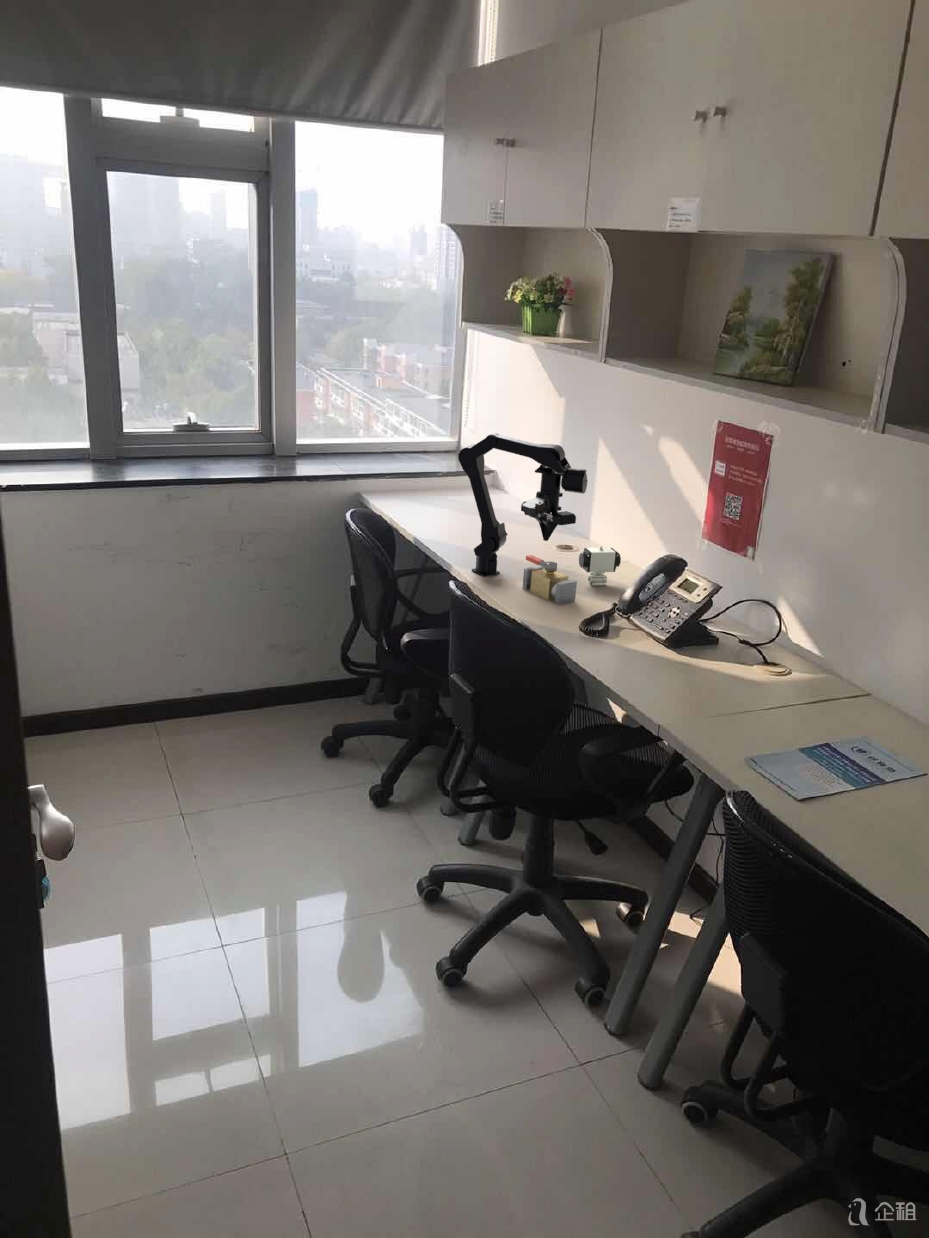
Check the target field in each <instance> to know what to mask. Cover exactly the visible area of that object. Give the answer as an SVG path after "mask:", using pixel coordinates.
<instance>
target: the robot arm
mask: <svg viewBox="0 0 929 1238" xmlns="http://www.w3.org/2000/svg"><path fill="white" fill-rule="evenodd" d="M493 449H495V450H499V451H503V452H507V453H510V454H514V455H519V456H521V457H526V458H529V459H531V460H533V461H535V462H536V463H538V464H540V465H539V467H537V468H536V469H535V470H534V473H537V474H541V478H540V489H539V490H537V491H536V494H535V498H531V499H530V500H529V499H528V500H525V501H523V502H522V503H521V505H520V511H521V512H523V513H524V515H525V516H528V517H530V518H533V519H535V520H536V521H537V522H538V524H539V528H540V530H541V531H540V532H541V536H542V540H543V541H544V542H547V541H549V539H550V538H551V536H552V534H553V533H554V531H555V530H556V528H557V527H558V526H567V525H574V524H576V523H577V522H576V521H577V515H576V514H575V513H573V512H570V511H567V510H565V511H562V506H559V505H560V498H562V497H563V494H564V493H563V492H561V490H564V492H569V493H577V494H585V493H586V491H587V486H588V476H587V475H588V474H587V469H585V468H584V469H580V468H579V469H578V468H572V466H571V464H570V463H569V460H568V459H567V458H566V453H565V450H564V447H562V446H561V445H559V444H553V443H533V442H529V441H525V440H521V439H517V438H514V437H510V436H505V435H502V434H499V433H497V432H493V433H491V434H488V435H486V437H485V438H483V439H482V440H480V441H479V442H477V443H476V444H470V445H468V446H466V447H463V448H462V449H461V450H460V451H459V453H458V454H457V459H458V462H459V464H460V466H461V469H462V471H463V472H464V473H465V474H466V476H467V477H468V479H469V482H470V486H471V490H472V492H473V497H474V501H475V504H476V508H477V511H478V515H479V518H480V523H481V526H480V527H481V528H480V539H481V540H480V541H481V543H480V544H478V545H477V546H475V547H474V548H473V552H474V555H475V556H476V557H475V558H476V560H475V568H471V571H472V572H474V574H475V573H476V574H477V575H479V576H482V577H488V576H494V575H500V574H501V572H500V571H499V570H498V569H497V568H498V555H497V552H499V550H500V549H501V548H502V547H503V546H504V545H505V544H506V542H507V536H508V535H509V534H508V533H507V531H506V524H505V522H502V523H500V522H499V521H498V520H497V518H496V514H495V510H494V507H493V506H494V505H493V504H492V499H491V496H490V493H489V492H490V491H489V487H488V485H487V481H486V477H485V455H486V454H487V453H489V452H491V451H493ZM561 488H562V489H561Z"/></svg>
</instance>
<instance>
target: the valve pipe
mask: <svg viewBox="0 0 929 1238" xmlns="http://www.w3.org/2000/svg"><path fill="white" fill-rule="evenodd" d="M522 577H523V579H522V589H523V590H524V591H528V590H530V594H532V595H534V596H537V597H539V598H540V599H543V600H545V601H547V602H549V601H554V604H555V605H557V606H562V605H566V604H571V603H576V595H577V584H578V581H577V580H575V579H570V580H569V575H567V574H565V573H563V572H561V571H558V570H557V571H556V572H548V571H545V570H544V567H542V566H540V565H536V566H530V567H524V568H523V576H522Z"/></svg>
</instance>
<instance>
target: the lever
mask: <svg viewBox="0 0 929 1238" xmlns="http://www.w3.org/2000/svg"><path fill="white" fill-rule="evenodd" d="M525 561H527V562H530V563H532V564H535V565H536V566H542V567H544V570H545V571H548V572H556V571H558V563H557V562H555V561H545V560H544V559H542V558H540V557H536V556H534V555H532V554H530V555H525Z"/></svg>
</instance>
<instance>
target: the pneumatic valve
mask: <svg viewBox="0 0 929 1238" xmlns="http://www.w3.org/2000/svg"><path fill="white" fill-rule="evenodd" d="M621 559H622V558H621V554H620V553H619V552H618V551H617V550H615V549H614V548H613V547H603V546H601V545H599V547H584V548H583V551H582V552H580V554H579V555H578V564H579V567H580V568H581V569H583V570H584V571H585V572H586V573H589V575H588V578H587V581H588V583H589V584H591V585H592V586H593V587H604V586H605V585H606V583H608V582H607V581H608V576H607V575H606V574H605V573H615V572H616V569H617V568H618V567H620V565H621Z"/></svg>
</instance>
